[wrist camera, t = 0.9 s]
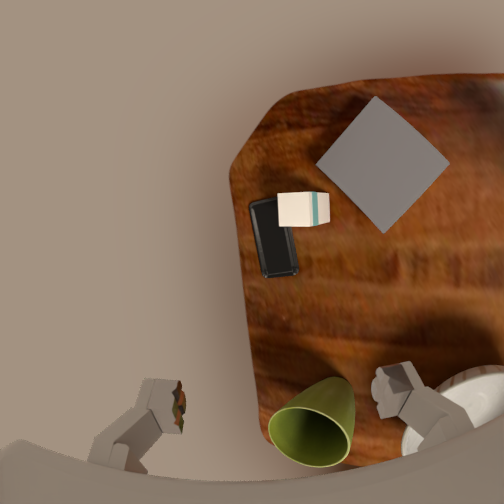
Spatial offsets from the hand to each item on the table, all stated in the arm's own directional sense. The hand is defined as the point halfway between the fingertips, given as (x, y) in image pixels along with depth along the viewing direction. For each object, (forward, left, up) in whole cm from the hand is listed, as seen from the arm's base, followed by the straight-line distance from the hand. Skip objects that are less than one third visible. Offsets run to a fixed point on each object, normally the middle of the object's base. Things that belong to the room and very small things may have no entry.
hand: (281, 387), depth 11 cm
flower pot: (+27, +16, -42) cm, 52 cm away
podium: (-9, -10, -41) cm, 43 cm away
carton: (+5, -14, -41) cm, 44 cm away
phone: (+15, -16, -42) cm, 47 cm away
